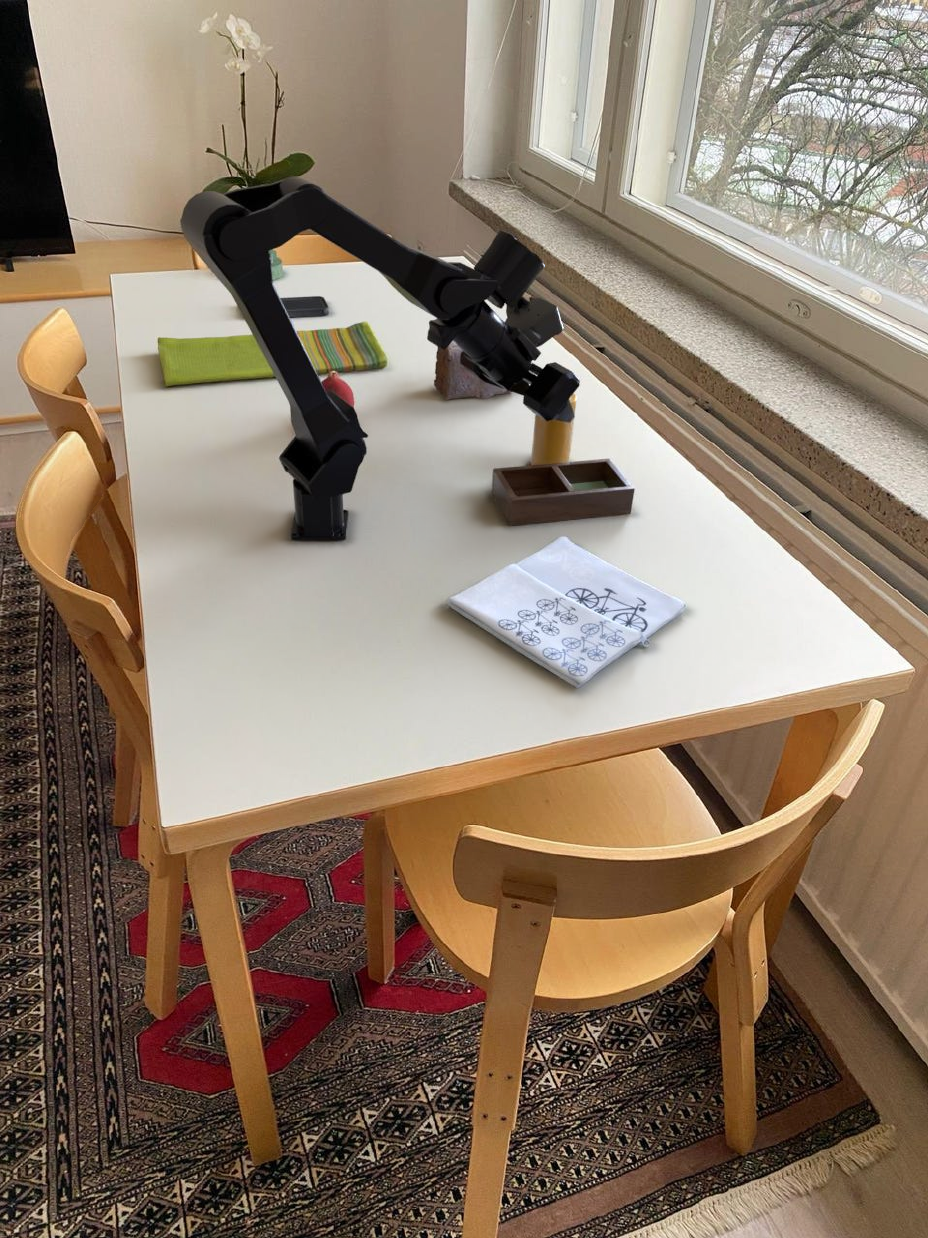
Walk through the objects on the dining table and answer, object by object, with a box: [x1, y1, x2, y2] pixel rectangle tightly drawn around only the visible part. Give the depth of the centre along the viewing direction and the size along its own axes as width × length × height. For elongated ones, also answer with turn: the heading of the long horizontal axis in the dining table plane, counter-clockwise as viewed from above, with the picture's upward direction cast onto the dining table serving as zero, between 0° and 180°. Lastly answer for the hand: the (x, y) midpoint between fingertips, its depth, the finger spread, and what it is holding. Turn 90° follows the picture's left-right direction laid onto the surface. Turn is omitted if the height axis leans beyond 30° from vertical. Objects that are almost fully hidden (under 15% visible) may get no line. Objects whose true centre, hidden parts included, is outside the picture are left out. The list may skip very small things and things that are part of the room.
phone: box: [280, 295, 330, 318], centre depth 173 cm, size 8×1×15 cm
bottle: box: [530, 393, 578, 465], centre depth 124 cm, size 5×5×13 cm
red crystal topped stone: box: [433, 341, 512, 401], centre depth 144 cm, size 14×8×10 cm, turn 111°
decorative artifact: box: [269, 249, 284, 281], centre depth 189 cm, size 10×7×10 cm
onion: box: [321, 371, 355, 409], centre depth 132 cm, size 6×6×8 cm
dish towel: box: [157, 321, 388, 387], centre depth 152 cm, size 15×36×3 cm, turn 109°
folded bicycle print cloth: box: [444, 535, 687, 689], centre depth 99 cm, size 19×20×2 cm
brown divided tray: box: [490, 458, 636, 527], centre depth 118 cm, size 8×16×4 cm, turn 105°
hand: (550, 406), depth 122 cm, fingers open, 9 cm apart
